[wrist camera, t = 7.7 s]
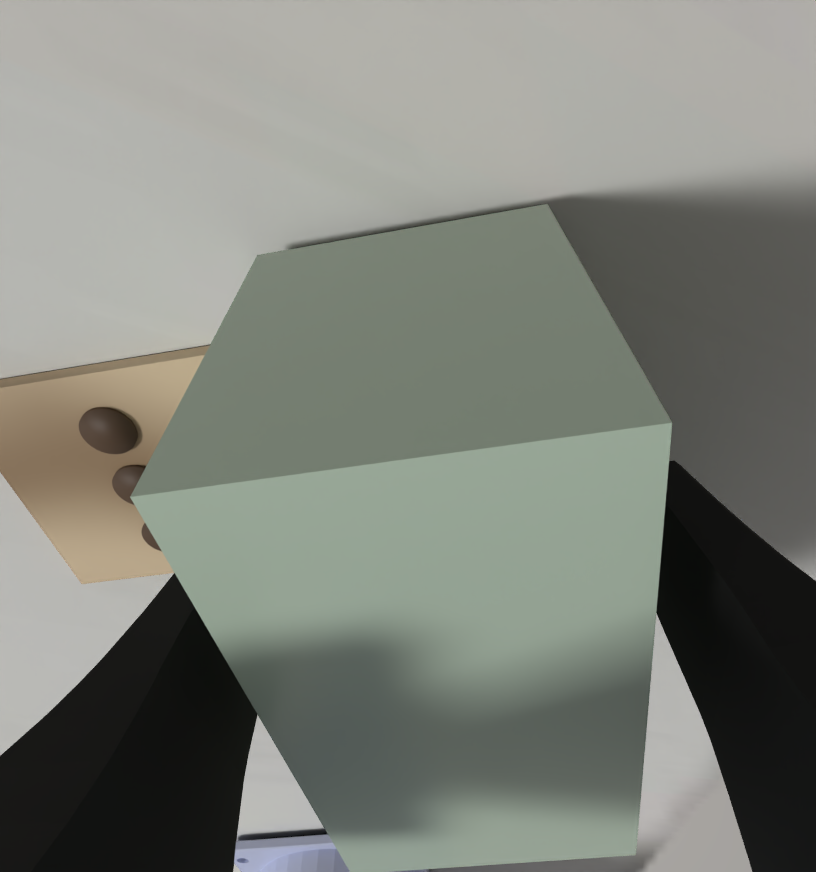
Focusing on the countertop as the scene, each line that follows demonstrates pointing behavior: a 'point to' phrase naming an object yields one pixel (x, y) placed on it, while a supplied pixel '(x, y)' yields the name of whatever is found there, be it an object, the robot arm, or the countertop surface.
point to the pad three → (92, 455)
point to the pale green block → (430, 538)
